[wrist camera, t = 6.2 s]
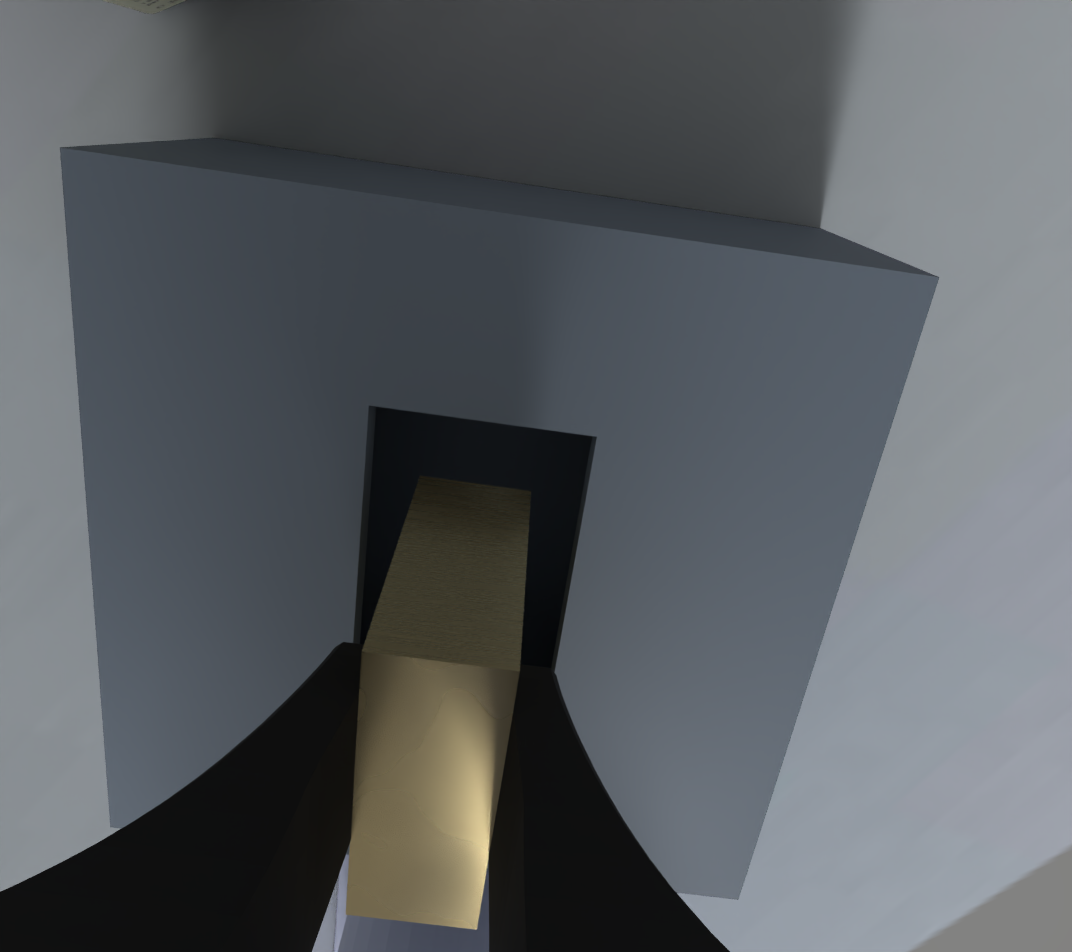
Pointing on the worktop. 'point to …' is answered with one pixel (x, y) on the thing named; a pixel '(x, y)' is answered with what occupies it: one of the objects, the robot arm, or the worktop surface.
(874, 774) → the worktop surface
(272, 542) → the slot box
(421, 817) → the block
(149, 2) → the skincare box
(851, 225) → the worktop surface
